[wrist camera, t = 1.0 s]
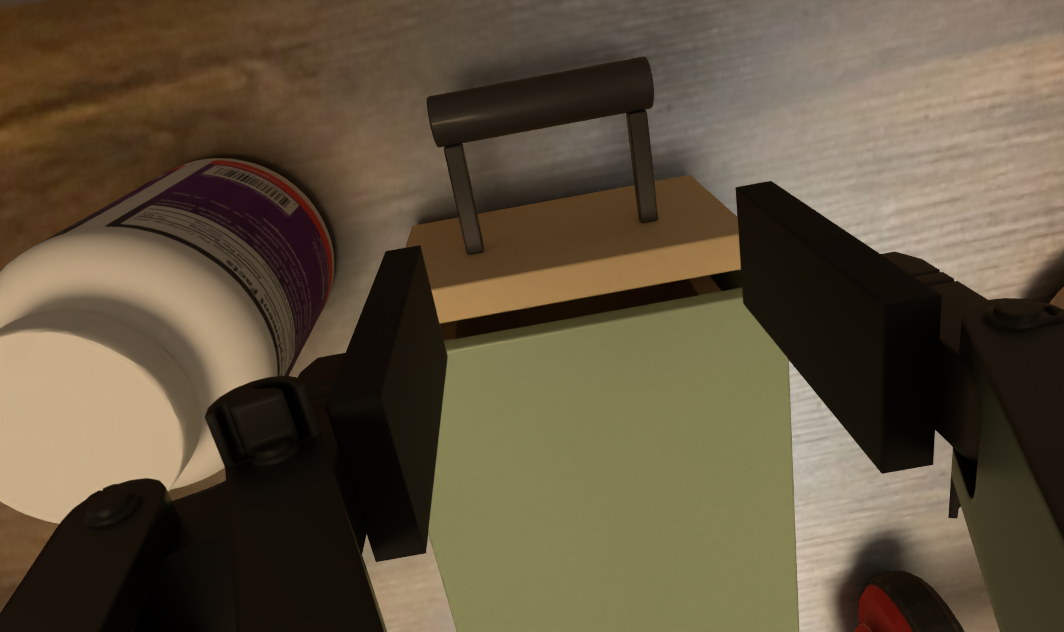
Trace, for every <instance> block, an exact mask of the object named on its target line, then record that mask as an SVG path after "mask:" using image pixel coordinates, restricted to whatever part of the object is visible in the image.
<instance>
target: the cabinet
mask: <svg viewBox="0 0 1064 632" xmlns="http://www.w3.org/2000/svg"><path fill="white" fill-rule="evenodd" d="M710 277H711V278H712V279H713V280H714V282H715V283H716V284H717V286H718V287H719V288H720V289H721V291H720V292H715V293H709V294H703V295H698V296H692V297H687V298H681V299H676V300H670V301H665V302H659V303H653V304H648V305H642V306H637V307H631V308H626V309H620V310H615V311H609V312H603V313H598V314H592V315H587V316H581V317H576V318H570V319H565V320H559V321H553V322H548V323H542V324H537V325H531V326H526V327H520V328H515V329H509V330H503V331H498V332H492V333H487V334H481V335H476V336H470V337H465V338H459V339H453V340H448V341H444V343H445V348H446V352H447V356H448V359H447V368H446V377H445V386H444V395H443V404H442V413H441V422H440V431H439V440H438V449H437V458H436V467H435V476H434V485H433V494H432V503H431V512H430V520H429V529H428V533H429V536H430V540H431V543H432V547H433V550H434V554H435V557H436V561H437V564H438V568H439V571H440V575H441V578H442V581H443V585H444V588H445V592H446V595H447V599H448V602H449V606H450V609H451V613H452V616H453V620H454V623H455V627H456V630H457V632H799V615H798V589H797V563H796V537H795V511H794V485H793V459H792V433H791V408H790V382H789V359H788V358H787V357H786V356H785V354H784V353H783V352H782V351H781V349H780V348H779V347H778V346H777V345H776V343H775V342H774V341H773V340H772V338H771V337H770V336H769V335H768V334H767V332H766V331H765V330H764V329H763V327H762V326H761V325H760V324H759V323H758V321H757V320H756V319H755V318H754V316H753V315H752V314H751V313H750V312H749V310H748V309H747V308H746V307H745V305H744V304H743V295H742V279H741V269H740V270H734V271H729V272H723V273H717V274H712V275H710Z"/></svg>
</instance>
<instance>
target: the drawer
mask: <svg viewBox="0 0 1064 632" xmlns="http://www.w3.org/2000/svg"><path fill="white" fill-rule="evenodd" d="M653 102H654V87H653V79H652V73H651V68H650V65H649V62H648V60H647V58H646V57H638V58H632V59H627V60H622V61H616V62H611V63H606V64H600V65H595V66H590V67H584V68H579V69H573V70H568V71H563V72H557V73H552V74H547V75H541V76H536V77H531V78H525V79H520V80H514V81H509V82H504V83H498V84H493V85H488V86H482V87H477V88H472V89H466V90H461V91H455V92H450V93H445V94H439V95H434V96H429V97H427V110H428V116H429V121H430V126H431V130H432V134H433V138H434V141H435V144H436V145H437V147H444V146H445V147H444V153H445V157H446V162H447V166H448V171H449V175H450V180H451V184H452V189H453V194H454V198H455V203H456V207H457V212H458V216H459V217H458V218H453V219H447V220H442V221H436V222H431V223H425V224H420V225H414V226H413V227H412V229H411V233H410V236H409V239H408V242H407V245H406V248H407V247H412V246H418V245H421V250H422V254H423V258H424V262H425V266H426V270H427V274H428V278H429V282H430V286H431V290H432V294H433V299H434V303H435V307H436V311H437V315H438V319H439V323H440V327H441V331H442V335H443V339H444V341H448V340H453V339H459V338H465V337H470V336H476V335H481V334H487V333H492V332H498V331H503V330H509V329H515V328H520V327H526V326H531V325H537V324H542V323H548V322H553V321H559V320H565V319H570V318H576V317H581V316H587V315H592V314H598V313H603V312H609V311H615V310H620V309H626V308H631V307H637V306H642V305H648V304H653V303H659V302H665V301H670V300H676V299H681V298H687V297H692V296H698V295H703V294H709V293H715V292H720V291H721V289H720V288H719V287H718V286H717V284H716V283H715V282H714V280H713V279H712V278H711V277H710V275H712V274H717V273H723V272H729V271H734V270H740V269H741V264H740V248H739V232H738V217H737V216H736V215H734V214H733V213H732V212H731V211H730V210H729V209H728V208H727V207H726V206H724V205H723V204H722V203H721V202H720V201H719V200H718V199H717V198H716V197H715V196H713V195H712V194H711V193H710V192H709V191H708V190H707V189H706V188H705V187H703V186H702V185H701V184H700V183H699V182H698V181H697V180H696V179H695V178H694V177H692V176H691V175H687V176H682V177H676V178H671V179H666V180H660V181H655V182H654V174H653V165H652V156H651V146H650V137H649V128H648V119H647V112H646V110H644V109H650V108H652V106H653ZM623 113H626V119H627V127H628V135H629V144H630V152H631V160H632V169H633V177H634V185H633V186H627V187H622V188H616V189H611V190H606V191H600V192H595V193H589V194H584V195H578V196H573V197H567V198H562V199H556V200H551V201H545V202H540V203H535V204H529V205H524V206H518V207H513V208H507V209H502V210H496V211H491V212H485V213H480V214H477V210H476V205H475V200H474V196H473V191H472V186H471V181H470V176H469V172H468V167H467V162H466V157H465V152H464V148H463V144H462V143H466V142H471V141H477V140H482V139H488V138H493V137H498V136H504V135H509V134H515V133H520V132H525V131H531V130H536V129H542V128H547V127H552V126H558V125H563V124H569V123H574V122H579V121H585V120H590V119H596V118H601V117H606V116H612V115H617V114H623Z"/></svg>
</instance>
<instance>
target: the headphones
mask: <svg viewBox="0 0 1064 632" xmlns="http://www.w3.org/2000/svg"><path fill="white" fill-rule="evenodd" d="M858 611H859V623H860V624H859V625H858V627H857V628H856V629H855V631H854V632H964V630H963V628H962V626H961V625H960V623H959V622H958V620H957V619H956V617H955V616H954V614H953V613H952V611H951V610H950V608H949V607H948V605H947V604H946V603H945V601H944V600H943V599H942V598H941V597H940V596H939V594H938V593H937V592H936V591H935V590H934V589H933V587H931V586H930V585H929V584H928V583H926V582H925V581H924V580H923V579H921V578H919V577H917V576H915V575H913V574H911V573H908V572H905V571H901V570H894V571H886V572H883V573H881V574H878V575H876V576H874V577H873V578H871V579H870V580H869V581H868V582H867V584H866V588H865V591H864V592H863V594H862V596H861V597H860V601H859V605H858Z"/></svg>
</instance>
